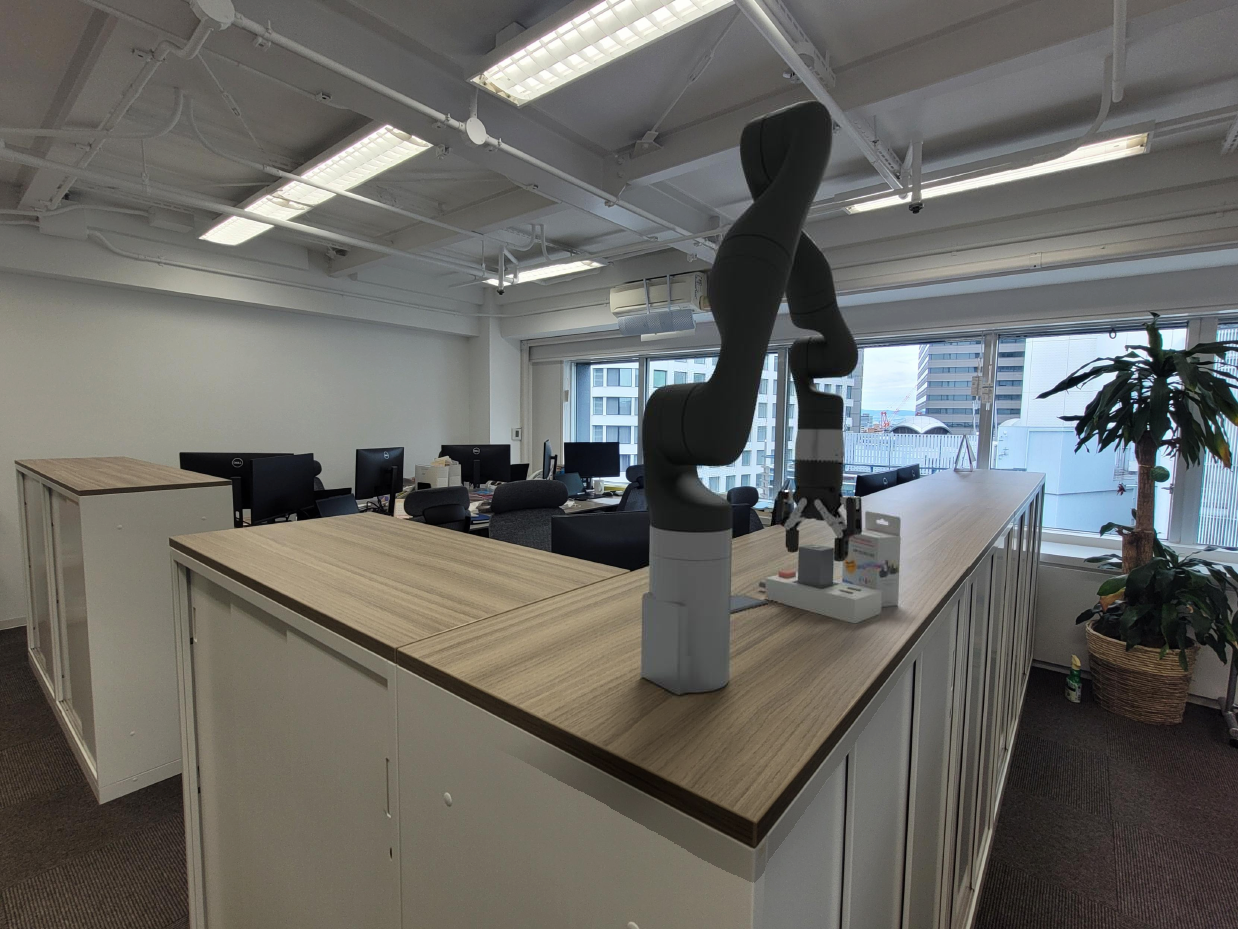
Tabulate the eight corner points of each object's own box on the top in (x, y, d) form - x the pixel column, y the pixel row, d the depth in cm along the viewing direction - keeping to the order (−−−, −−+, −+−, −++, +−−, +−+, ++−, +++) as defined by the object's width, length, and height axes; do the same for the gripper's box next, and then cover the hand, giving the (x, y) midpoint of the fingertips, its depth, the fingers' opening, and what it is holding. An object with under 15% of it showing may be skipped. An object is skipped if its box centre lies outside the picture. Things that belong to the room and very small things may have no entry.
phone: (718, 621, 85) (718, 615, 85) (690, 611, 90) (690, 605, 90) (768, 607, 92) (768, 601, 92) (739, 598, 97) (739, 593, 97)
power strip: (854, 623, 83) (855, 594, 83) (746, 593, 98) (746, 568, 98) (880, 613, 88) (881, 585, 88) (773, 586, 103) (774, 562, 103)
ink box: (839, 594, 99) (842, 511, 98) (863, 592, 100) (865, 510, 100) (875, 608, 91) (878, 518, 90) (899, 606, 92) (903, 517, 91)
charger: (819, 606, 90) (820, 549, 89) (797, 600, 93) (798, 545, 92) (832, 601, 92) (834, 546, 92) (810, 596, 95) (811, 543, 95)
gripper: (768, 456, 94) (765, 551, 95) (848, 459, 83) (844, 567, 84) (794, 456, 99) (791, 547, 100) (872, 459, 88) (869, 561, 89)
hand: (815, 556), depth 92 cm, fingers open, 8 cm apart
